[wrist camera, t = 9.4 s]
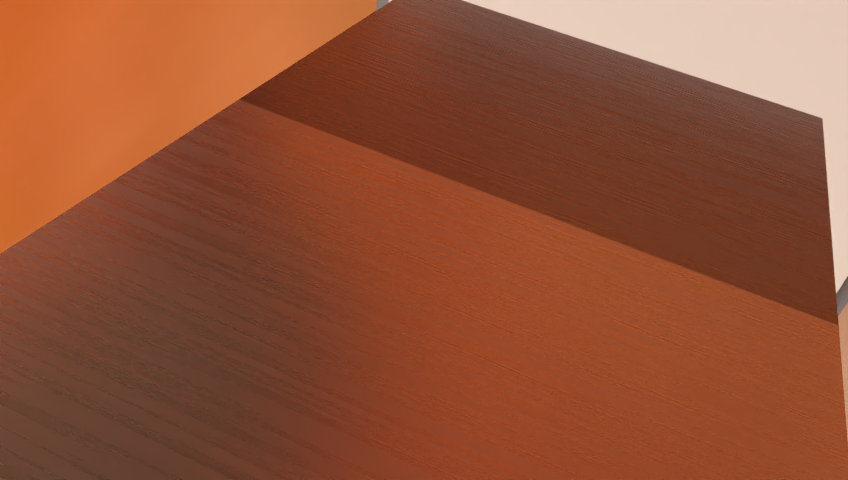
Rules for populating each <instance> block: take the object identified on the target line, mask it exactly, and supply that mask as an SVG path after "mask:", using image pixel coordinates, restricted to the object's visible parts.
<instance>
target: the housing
mask: <svg viewBox="0 0 848 480" xmlns="http://www.w3.org/2000/svg"><path fill="white" fill-rule="evenodd" d="M0 480H848V441H847V429H846V416H845V403H844V390H843V377H842V364H841V351H840V338H839V325H838V313H837V300H836V287H835V274H834V261H833V248H832V235H831V222H830V209H829V197H828V184H827V171H826V158H825V145H824V132H823V119H822V118H820V117H817V116H814V115H811V114H808V113H805V112H802V111H799V110H796V109H793V108H789V107H786V106H783V105H780V104H777V103H774V102H771V101H768V100H765V99H762V98H759V97H756V96H753V95H750V94H747V93H744V92H741V91H738V90H735V89H731V88H728V87H725V86H722V85H719V84H716V83H713V82H710V81H707V80H704V79H701V78H698V77H695V76H692V75H689V74H686V73H683V72H680V71H676V70H673V69H670V68H667V67H664V66H661V65H658V64H655V63H652V62H649V61H646V60H643V59H640V58H637V57H634V56H631V55H628V54H625V53H622V52H618V51H615V50H612V49H609V48H606V47H603V46H600V45H597V44H594V43H591V42H588V41H585V40H582V39H579V38H576V37H573V36H570V35H567V34H563V33H560V32H557V31H554V30H551V29H548V28H545V27H542V26H539V25H536V24H533V23H530V22H527V21H524V20H521V19H518V18H515V17H512V16H509V15H505V14H502V13H499V12H496V11H493V10H490V9H487V8H484V7H481V6H478V5H475V4H472V3H469V2H466V1H463V0H392V1H390V2H389V3H387V4H386V5H384V6H383V7H381V8H380V9H378V10H377V11H375V12H373V13H372V14H370V15H369V16H367V17H366V18H364V19H363V20H361V21H360V22H358V23H356V24H355V25H353V26H352V27H350V28H349V29H347V30H346V31H344V32H343V33H341V34H339V35H338V36H336V37H335V38H333V39H332V40H330V41H329V42H327V43H326V44H324V45H322V46H321V47H319V48H318V49H316V50H315V51H313V52H312V53H310V54H309V55H307V56H305V57H304V58H302V59H301V60H299V61H298V62H296V63H295V64H293V65H292V66H290V67H288V68H287V69H285V70H284V71H282V72H281V73H279V74H278V75H276V76H275V77H273V78H271V79H270V80H268V81H267V82H265V83H264V84H262V85H261V86H259V87H258V88H256V89H254V90H253V91H251V92H250V93H248V94H247V95H245V96H244V97H242V98H241V99H239V100H237V101H236V102H234V103H233V104H231V105H230V106H228V107H227V108H225V109H224V110H222V111H220V112H219V113H217V114H216V115H214V116H213V117H211V118H210V119H208V120H207V121H205V122H203V123H202V124H200V125H199V126H197V127H196V128H194V129H193V130H191V131H190V132H188V133H186V134H185V135H183V136H182V137H180V138H179V139H177V140H176V141H174V142H173V143H171V144H169V145H168V146H166V147H165V148H163V149H162V150H160V151H159V152H157V153H156V154H154V155H152V156H151V157H149V158H148V159H146V160H145V161H143V162H142V163H140V164H139V165H137V166H135V167H134V168H132V169H131V170H129V171H128V172H126V173H125V174H123V175H122V176H120V177H118V178H117V179H115V180H114V181H112V182H111V183H109V184H108V185H106V186H105V187H103V188H101V189H100V190H98V191H97V192H95V193H94V194H92V195H91V196H89V197H88V198H86V199H84V200H83V201H81V202H80V203H78V204H77V205H75V206H74V207H72V208H71V209H69V210H67V211H66V212H64V213H63V214H61V215H60V216H58V217H57V218H55V219H54V220H52V221H50V222H49V223H47V224H46V225H44V226H43V227H41V228H40V229H38V230H37V231H35V232H33V233H32V234H30V235H29V236H27V237H26V238H24V239H23V240H21V241H19V242H18V243H16V244H15V245H13V246H12V247H10V248H9V249H7V250H6V251H4V252H2V253H1V254H0Z"/></svg>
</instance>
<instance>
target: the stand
mask: <svg viewBox="0 0 848 480" xmlns="http://www.w3.org/2000/svg"><path fill="white" fill-rule="evenodd" d="M390 1H392V0H378V2H377V8H376V11H377V10H378V9H380V8H381V7H383V6H384V5H386V4H387V3H389V2H390ZM463 1H466V2H469V3H472V4H475V5H478V6H481V7H484V8H487V9H490V10H493V11H496V12H499V13H502V14H505V15H509V16H512V17H515V18H518V19H521V20H524V21H527V22H530V23H533V24H536V25H539V26H542V27H545V28H548V29H551V30H554V31H557V32H560V33H563V34H567V35H570V36H573V37H576V38H579V39H582V40H585V41H588V42H591V43H594V44H597V45H600V46H603V47H606V48H609V49H612V50H615V51H618V52H622V53H625V54H628V55H631V56H634V57H637V58H640V59H643V60H646V61H649V62H652V63H655V64H658V65H661V66H664V67H667V68H670V69H673V70H676V71H680V72H683V73H686V74H689V75H692V76H695V77H698V78H701V79H704V80H707V81H710V82H713V83H716V84H719V85H722V86H725V87H728V88H731V89H735V90H738V91H741V92H744V93H747V94H750V95H753V96H756V97H759V98H762V99H765V100H768V101H771V102H774V103H777V104H780V105H783V106H786V107H789V108H793V109H796V110H799V111H802V112H805V113H808V114H811V115H814V116H817V117H820V118H822V119H823V132H824V145H825V158H826V171H827V184H828V197H829V209H830V222H831V235H832V248H833V261H834V274H835V287H836V300H837V313H838V316H839V314H840V313H841V311H842V310H843V308H844V307H845V305H846V304H847V302H848V0H463Z"/></svg>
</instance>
